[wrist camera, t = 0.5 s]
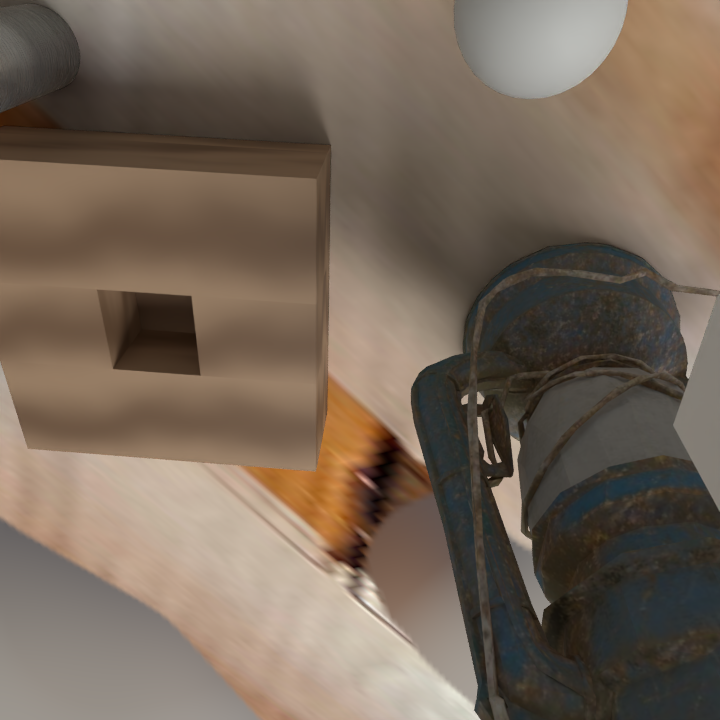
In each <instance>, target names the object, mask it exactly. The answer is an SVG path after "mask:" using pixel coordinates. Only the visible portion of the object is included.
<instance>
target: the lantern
mask: <svg viewBox="0 0 720 720" xmlns="http://www.w3.org/2000/svg"><path fill="white" fill-rule="evenodd" d="M671 291H676V292H685V293H694V294H702V295H711V296H718V294H720V291H717V290H711V289H704V288H696V287H688V286H680V285H676V284H674V283H672V282H671V281H669V280H667V279H665V278H663V277H662V276H661V275H660V274H659V273H658V272H657V271H656V270H655V269H654V268H652V267H651V266H650V265H649V264H648V263H647V262H646V261H645V260H644V259H643V258H641V257H638V256H636V255H633V254H631V253H628V252H626V251H623V250H620V249H618V248H615V247H613V246H610V245H605V244H599V243H579V244H570V245H561V246H551V247H547V248H545V249H543V250H540V251H538V252H536V253H534V254H532V255H530V256H528V257H525V258H523V259H521V260H519V261H517V262H515V263H513V264H510V265H509V266H508V267H507V268H505V269H504V270H503V271H502V272H501V273H499V274H498V275H497V276H496V277H494V278H493V279H492V280H491V281H490V283H489V284H488V285H487V286H486V288H485V289H484V290H483V291H482V292H481V294H480V295H479V296H478V297H477V299H476V301H475V304H474V306H473V308H472V310H471V312H470V314H469V316H468V318H467V321H466V327H465V334H464V341H463V353H464V354H459V355H455V356H452V357H449V358H447V359H444V360H442V361H440V362H437V363H435V364H433V365H430V366H427V367H426V368H425V369H424V370H422V371H421V372H420V373H419V375H418V376H417V378H416V380H415V382H414V384H413V386H412V388H411V406H412V413H413V419H414V424H415V428H416V432H417V435H418V439H419V442H420V446H421V449H422V453H423V456H424V460H425V463H426V467H427V470H428V474H429V478H430V481H431V485H432V488H433V492H434V495H435V499H436V502H437V506H438V509H439V513H440V516H441V520H442V523H443V527H444V531H445V535H446V540H447V545H448V549H449V554H450V559H451V563H452V568H453V572H454V577H455V582H456V586H457V591H458V596H459V600H460V605H461V610H462V614H463V619H464V623H465V628H466V633H467V637H468V642H469V647H470V651H471V656H472V660H473V665H474V670H475V674H476V679H477V683H478V691H477V700H476V704H475V709H474V711H475V712H476V713H477V715H478V716H479V718H480V719H481V720H720V511H719V509H718V507H717V506H716V504H715V502H714V500H713V498H712V496H711V495H710V493H709V491H708V489H707V487H706V485H705V483H704V482H703V480H702V478H701V476H700V474H699V472H698V471H697V469H696V467H695V465H694V463H693V461H692V459H691V458H690V456H689V454H688V452H687V450H686V448H685V447H684V445H683V443H682V441H681V439H680V437H679V435H678V434H677V432H676V430H675V428H674V426H673V424H674V421H675V418H676V415H677V412H678V410H679V407H680V404H681V401H682V398H683V395H684V392H685V389H686V386H687V383H688V380H689V379H688V378H687V377H686V371H687V364H688V362H687V352H686V346H685V343H684V340H683V337H682V335H681V333H680V315H679V313H678V310H677V308H676V304H675V301H674V298H673V295H672V292H671ZM478 391H479V392H480V393H481V395H482V396H483V397H484V398H485V399H484V402H483V404H477V392H478ZM467 394H468V404H464V405H462V404H461V399H462V398H463V397H464V396H465V395H467ZM477 417H482V421H483V427H484V433H485V440H486V446H487V452H488V458H489V459H490V461H491V463H492V464H491V465H490V464H488V463H487V462H486V461H485V460H483V457H484V450H483V447H482V445H481V443H480V440H479V438H478V425H477ZM510 435H511V436H512V437H513V438H515V439H517V440H518V441H520V445H521V448H520V452H519V455H518V459H517V460H518V470H519V480H520V489H521V499H522V513H521V532H522V533H523V534H524V535H525V536H526V537H528V538H529V539H531V540H532V555H533V565H534V573H535V576H536V578H537V580H538V582H539V584H540V586H541V588H542V591H543V593H544V594H545V597H546V598H547V600H548V601H549V602H550V603H551V605H549V606H548V607H547V608H546V609H544V612H543V619H542V626H541V624H540V622H539V620H538V618H537V615H536V613H535V611H534V609H533V606H532V604H531V601H530V598H529V596H528V593H527V590H526V587H525V584H524V581H523V579H522V576H521V573H520V570H519V567H518V564H517V561H516V558H515V556H514V553H513V550H512V547H511V544H510V541H509V538H508V536H507V533H506V530H505V527H504V524H503V521H502V518H501V516H500V513H499V510H498V507H497V504H496V501H495V498H494V496H493V493H492V490H491V488H492V487H495V486H498V485H499V484H500V482H501V481H502V480H503V477H512V476H513V472H514V469H513V459H512V450H511V440H510ZM493 444H494V446H495V448H496V450H497V453H498V455H499V457H500V459H501V461H502V462H500V463H497V462H496V458H495V454H494V448H493ZM487 476H488V477H491V478H489V479H488V478H487ZM528 526H529V529H530V531H528Z"/></svg>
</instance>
